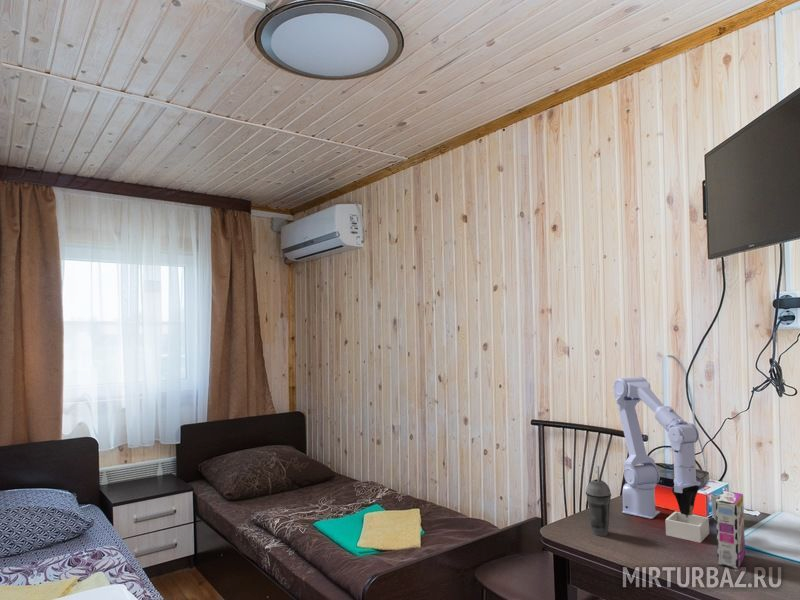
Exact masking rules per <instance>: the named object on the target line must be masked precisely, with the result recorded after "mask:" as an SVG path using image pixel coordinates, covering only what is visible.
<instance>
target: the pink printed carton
mask: <svg viewBox="0 0 800 600" xmlns="http://www.w3.org/2000/svg"><path fill="white" fill-rule="evenodd" d="M719 495H720V496H719V497H718V498H717V500H716V520H715V521H716V544H717V545H716V547H717V548H716V549H717V552H716V553H717V554H716V555H717V565H718V566H722V567H726V568H729V569H730V568H731V569H734V570H740V567H741V564H742V562H743V560H744V559H745V556H746V543H745V542H746V539H745V514H744V513H745V510H744V509H745V508H744V494H743V493H738V492H733V491H726V490H723V491H722V492H721V494H719Z"/></svg>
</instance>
